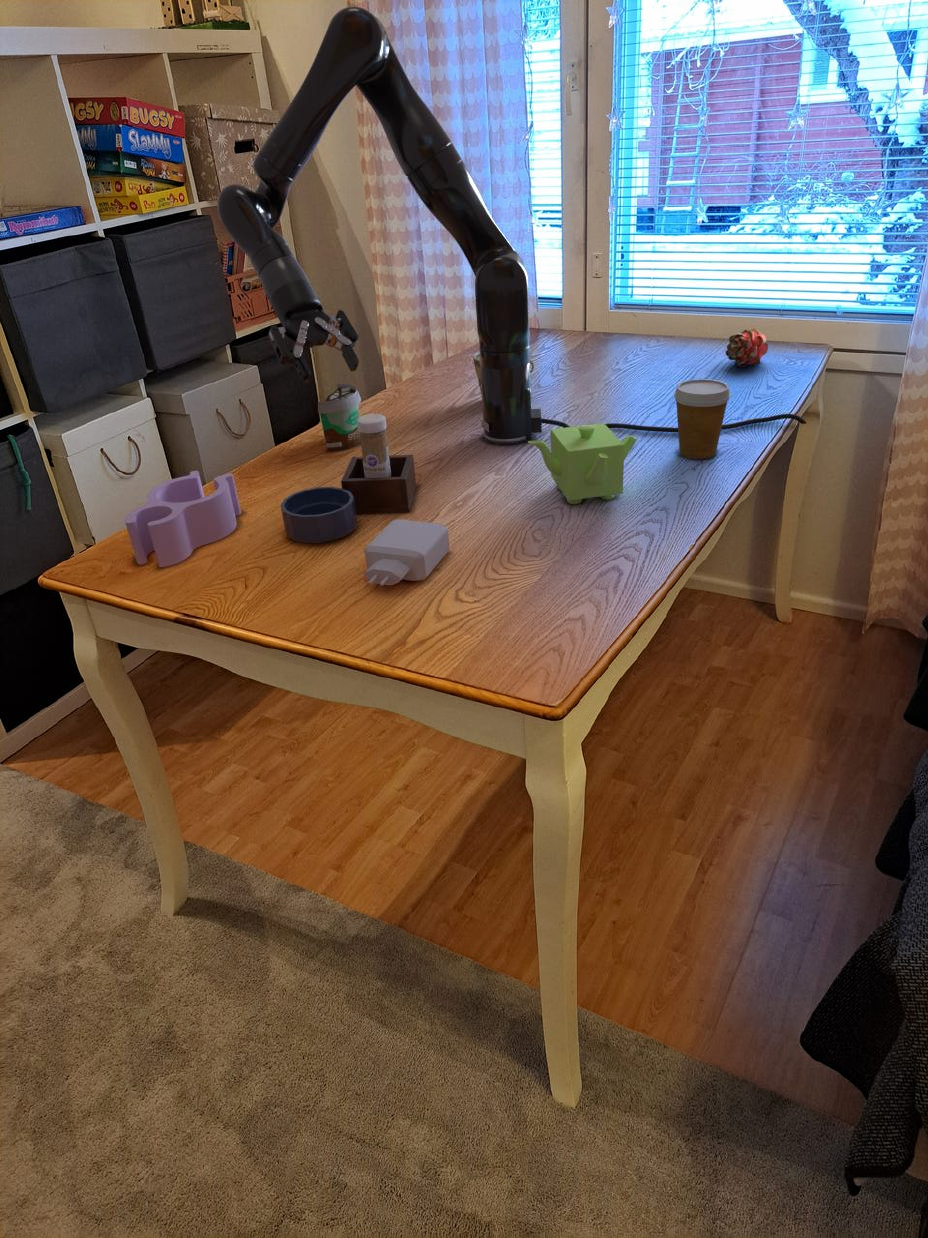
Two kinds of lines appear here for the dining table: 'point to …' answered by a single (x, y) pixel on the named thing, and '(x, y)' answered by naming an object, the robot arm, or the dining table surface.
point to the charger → (405, 551)
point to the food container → (340, 418)
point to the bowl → (319, 514)
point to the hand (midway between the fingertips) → (333, 374)
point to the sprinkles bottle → (374, 445)
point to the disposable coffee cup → (700, 416)
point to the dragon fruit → (747, 347)
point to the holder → (382, 486)
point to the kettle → (586, 461)
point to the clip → (182, 518)
